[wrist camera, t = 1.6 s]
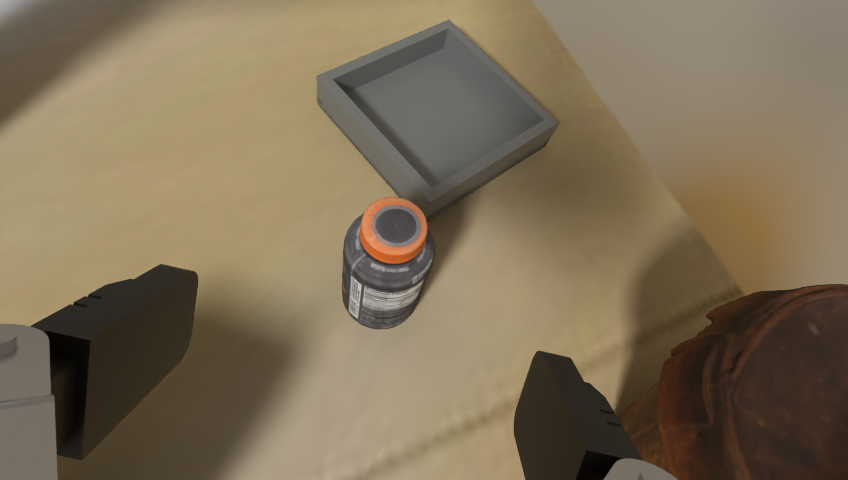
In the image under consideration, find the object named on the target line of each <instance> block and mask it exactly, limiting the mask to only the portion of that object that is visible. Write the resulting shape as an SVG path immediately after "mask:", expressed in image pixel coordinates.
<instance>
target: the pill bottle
mask: <svg viewBox="0 0 848 480" xmlns="http://www.w3.org/2000/svg"><path fill="white" fill-rule="evenodd" d="M434 256H435V244H434V239H433V236H432V234H431V232H430V230H429V228H428V227H427V221H426V218H425V216H424V214H423V212H422V211H421V210H420V208H419V207H417V206H416V205H415V204H414V203H412V202H410V201H408V200H406V199H403V198H397V197H388V198H383V199H380V200H378V201H376V202H374V203H373V204H371V205H370V206H369V207H368V208H367V209H366V211H365V212H364V214H362V215H361V216H359V217H358V218H357V219H356V220H355V221H354V222H353V223H352V225H351V226H350V228H349V229H348V231H347V234H346V236H345V240H344V249H343V273H342V296H343V302H344V305H345V308H346V310H347V311H348V313H349V314H350V316H351V317H352V318H353V319H354V320H355V321H357V322H358V323H360V324H361V325H363V326H366V327H369V328H372V329H389V328H392V327H395V326H397V325H399V324H401V323H402V322H404V321H405V320H406V319H407V318H408V317H409V316H410V315H411V314H412V312H413V310H414V308H415V306H416V304H417V302H418V300H419V297H420V295H421V292H422V290H423V287H424V285H425V282H426V279H427V277H428V274H429V272H430V269H431V267H432V264H433V261H434Z"/></svg>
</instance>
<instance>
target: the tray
mask: <svg viewBox="0 0 848 480" xmlns="http://www.w3.org/2000/svg"><path fill="white" fill-rule="evenodd" d="M317 102H318V105H319V106H320V107H321V108H322V110H323V111H324V112H325V113H326V114H327V115H328V116H329V118H330V119H331V120H332V121H333V122H334V123H335V124H336V126H337V127H338V128H339V129H340V130H341V131H342V132H343V133H344V135H345V136H346V137H347V138H348V139H349V140H350V141H351V143H352V144H353V145H354V146H355V147H356V148H357V149H358V151H359V152H360V153H361V154H362V155H363V156H364V157H365V159H366V160H367V161H368V162H369V163H370V164H371V165H372V166H373V168H374V169H375V170H376V171H377V172H378V173H379V174H380V176H381V177H382V178H383V179H384V180H385V181H386V182H387V184H388V185H389V186H390V187H391V188H392V189H393V190H394V192H395V193H396V194H397V195H398V196H399V197H400V198H403V199H406V200H408V201H410V202H412V203H414V204H415V205H416V206H417V207H419V208H420V210H421V211H422V212H423V214H424V216H425V218H426V221H429V220H431V219H432V218H434V217H435V216H437V215H438V214H440V213H442V212H443V211H445V210H446V209H448V208H449V207H451V206H452V205H454V204H456V203H457V202H459V201H460V200H462V199H463V198H465V197H466V196H468V195H470V194H471V193H473V192H474V191H476V190H477V189H479V188H480V187H482V186H484V185H485V184H487V183H488V182H490V181H491V180H493V179H494V178H496V177H498V176H499V175H501V174H502V173H504V172H505V171H507V170H509V169H510V168H512V167H513V166H515V165H516V164H518V163H519V162H521V161H523V160H524V159H526V158H527V157H529V156H530V155H532V154H533V153H535V152H537V151H538V150H540V149H541V148H543V147H544V146H545V145H546V144H547V142H548V140H549V138H550V137H551V135H552V133H553V132H554V130H555V128H556V127H557V125H558V123H559V122H558V121H557V120H556V119H555V118H554V117H553V116H552V115H551V114H550V113H549V112H547V111H546V110H545V109H544V108H543V107H542V106H541V105H540V104H539V103H538V102H537V101H536V100H535V99H534V98H532V97H531V96H530V95H529V94H528V93H527V92H526V91H525V90H524V89H523V88H522V87H521V86H520V85H519V84H518V83H516V82H515V81H514V80H513V79H512V78H511V77H510V76H509V75H508V74H507V73H506V72H505V71H504V70H503V69H501V68H500V67H499V66H498V65H497V64H496V63H495V62H494V61H493V60H492V59H491V58H490V57H489V56H488V55H486V54H485V53H484V52H483V51H482V50H481V49H480V48H479V47H478V46H477V45H476V44H475V43H474V42H473V41H472V40H470V39H469V38H468V37H467V36H466V35H465V34H464V33H463V32H462V31H461V30H460V29H459V28H458V27H457V26H455V25H454V24H453V23H452V22H451V21H450V20H447V21H444V22H442V23H440V24H437V25H435V26H433V27H430V28H428V29H426V30H423V31H421V32H419V33H416V34H414V35H412V36H409V37H407V38H405V39H402V40H400V41H398V42H395V43H393V44H390V45H388V46H386V47H383V48H381V49H379V50H376V51H374V52H372V53H369V54H367V55H365V56H362V57H360V58H358V59H355V60H353V61H351V62H348V63H346V64H344V65H341V66H339V67H337V68H334V69H332V70H330V71H327V72H325V73H323V74H320V75H318V76H317Z"/></svg>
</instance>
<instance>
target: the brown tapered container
mask: <svg viewBox="0 0 848 480" xmlns="http://www.w3.org/2000/svg"><path fill="white" fill-rule="evenodd" d="M706 317H707V318H708V319H710V320H711V321H712V324H711V325H710V326H707V327H706V328H705V329H704V330H703V331H701V332H700V333H698V334H697V336H696V337H695V338H693V339H690V340H687V341H685V342H682V343H680V344H679V345H677V347H675V348H673V349H672V350H671V357H670V358H668V359H667V360H666V361H665V362H664V365H663V369H662V373H661V378H660V381H659V382H658V383H656V384H655V385H654V386H653V387H652V388H651V389H650V390H649V391H647V392H646V393H645V394H644V395H643V396H642V397H641V398H640V399H639V400H637V401H636V402H635V403H634V404H632V405H631V406H630V407H629V408H628V409H627V410H626V411H625V413H624V414H623V415H622V416H621V418H620V419H619V421H620V423H621V424H622V428H624V429H625V431H626V432H627V434H628V436H629V437H630V439H631V441H632V442H633V444H634V446H635V447H636V449H637V451H638V452H639V454H640V456H641V457H642V459H643V461H645V462H648V463H651V464H653V465H655V466H657V467H659V468H661V469H663V470H665V471H666V472H668V473H669V474H671V475H672V476H674V477H675V478H677V479H678V480H848V285H845V284H828V285H814V286H807V287H802V288H798V289H791V290H778V291H760V292H756V293H753V294H750V295H747V296H745V297H741V298H739V299H737V300H735V301H731V302H729V303H727V304H725V305H722V306H720V307H717V308H715V309H714V310H712V311H711V312H710V313H708V314H707V315H706Z"/></svg>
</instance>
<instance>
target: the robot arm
mask: <svg viewBox="0 0 848 480" xmlns="http://www.w3.org/2000/svg"><path fill="white" fill-rule="evenodd" d="M197 288H198V276H197V273H196V272H194V271H190V270H185V269H181V268H177V267H172V266H168V265H163V264H160V265H158V266H156V267H154V268H153V269H151V270H149V271H148V272H146V273H144V274H142V275H141V276H139V277H137V278H135V279H134V280H133V279H128V280H124V281H120V282H116V283H112V284H108V285H105V286H103V287H101V288H99V289H98V290H96V291H94V292H92V293H90V294H89V295H88V297H86V296H85V297H83V298H81V299H79V300H77V301H76V302H74V304H73V305H68V306H66V307H65V308H63V309H61V310H59V311H57V312H55V313H53V314H52V315H50V316H48V317H46V318H44V319H42V320H41V321H39V322H37V323H35V324H33V325H31V326H25V325H17V324H0V480H58V473H57V455H59V456H64V457H69V458H74V459H79V460H83V459H84V458H85V457H86V456H87V455H88V454H89V453H90V452H91V451H92V450H93V449H94V448H95V447H96V446H97V445H98V444H99V443H100V442H101V441H102V440H103V439H104V438H105V437H106V436H107V434H108V433H109V432H110V431H111V430H112V429H113V428H114V427H115V426H116V425H117V424H118V423H119V422H120V421H121V420H122V419H123V418H124V417H125V416H126V415H127V414H128V413H129V412H130V411H131V410H132V409H133V408H134V407H135V406H136V405H137V404H138V403H139V402H140V401H141V400H142V399H143V398H144V397H145V396H146V395H147V394H148V393H149V392H150V391H151V390H152V389H153V388H154V387H155V386H156V385H157V384H158V383H159V382H160V381H161V380H162V379H163V378H164V377H165V376H166V375H167V374H168V373H169V372H170V371H171V370H172V369H173V368H174V367H175V366H176V365H177V364H178V363H179V362H180V361H181V359H182V358H183V356H184V355H185V353H186V350H187V348H188V346H189V343H190V339H191V334H192V327H193V319H194V311H195V303H196V296H197ZM514 436H515V440H516V444H517V448H518V452H519V456H520V460H521V464H522V468H523V472H524V476H525V480H678V479H677V478H675V477H674V476H672V475H671V474H669V473H668V472H666V471H665V470H663V469H661V468H659V467H657V466H655V465H653V464H651V463H648V462H645V461H643V459H642V457H641V456H640V454H639V452H638V451H637V449H636V447H635V446H634V444H633V442H632V441H631V439H630V437H629V436H628V434H627V432H626V431H625V429H624V428H622V424H621V423H620V421H619V419H618V418H617V416H616V415H614V411H613V409H612V408H611V406H610V404H609V403H608V401H607V399H606V398H605V397H604V396H603V395H602V394H601V393H600V392H599V391H598V390H596V389H595V388H594V387H593V386H592V385H591V384H590V383H587V382H584V381H583V379H582V377H581V375H580V374H579V372H578V370H577V368H576V366H575V365H574V363H573V361H572V359H571V358H569V357H565V356H560V355H556V354H552V353H547V352H543V351H538V352H536V354H535V355H534V357H533V359H532V362H531V365H530V368H529V371H528V374H527V377H526V380H525V383H524V386H523V389H522V393H521V396H520V399H519V402H518V405H517V408H516V412H515V417H514Z"/></svg>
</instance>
